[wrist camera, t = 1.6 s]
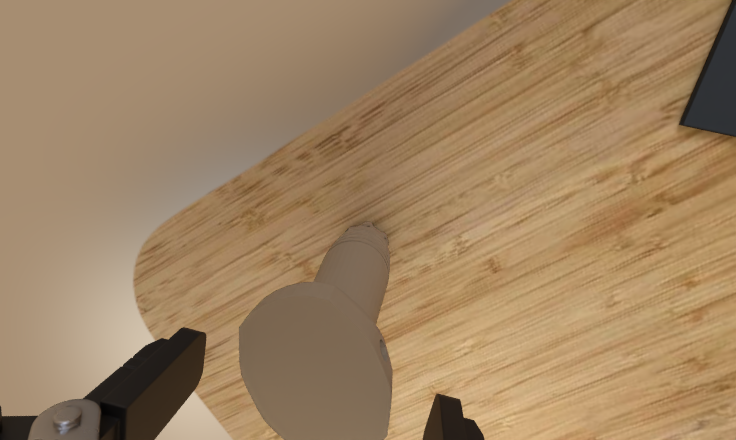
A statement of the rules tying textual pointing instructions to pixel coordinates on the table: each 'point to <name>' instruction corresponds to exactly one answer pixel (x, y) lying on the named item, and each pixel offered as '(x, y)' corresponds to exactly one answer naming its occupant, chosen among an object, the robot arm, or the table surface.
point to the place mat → (716, 85)
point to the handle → (324, 347)
